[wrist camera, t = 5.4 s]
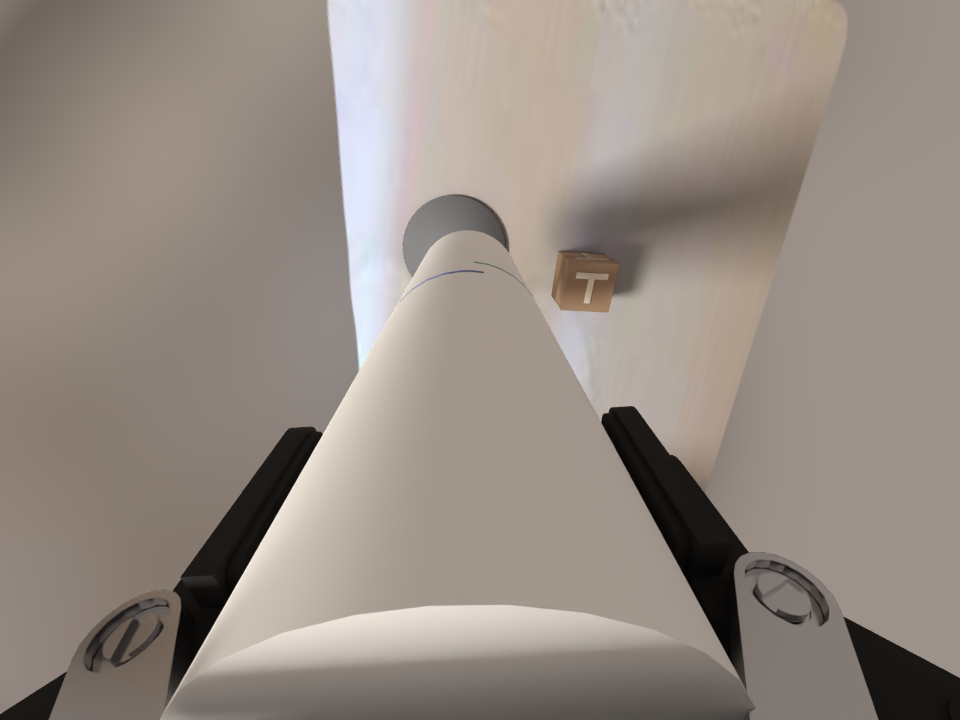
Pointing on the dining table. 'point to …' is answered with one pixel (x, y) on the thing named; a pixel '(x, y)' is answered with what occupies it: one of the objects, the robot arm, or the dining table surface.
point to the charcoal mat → (445, 225)
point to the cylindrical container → (463, 543)
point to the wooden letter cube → (584, 281)
